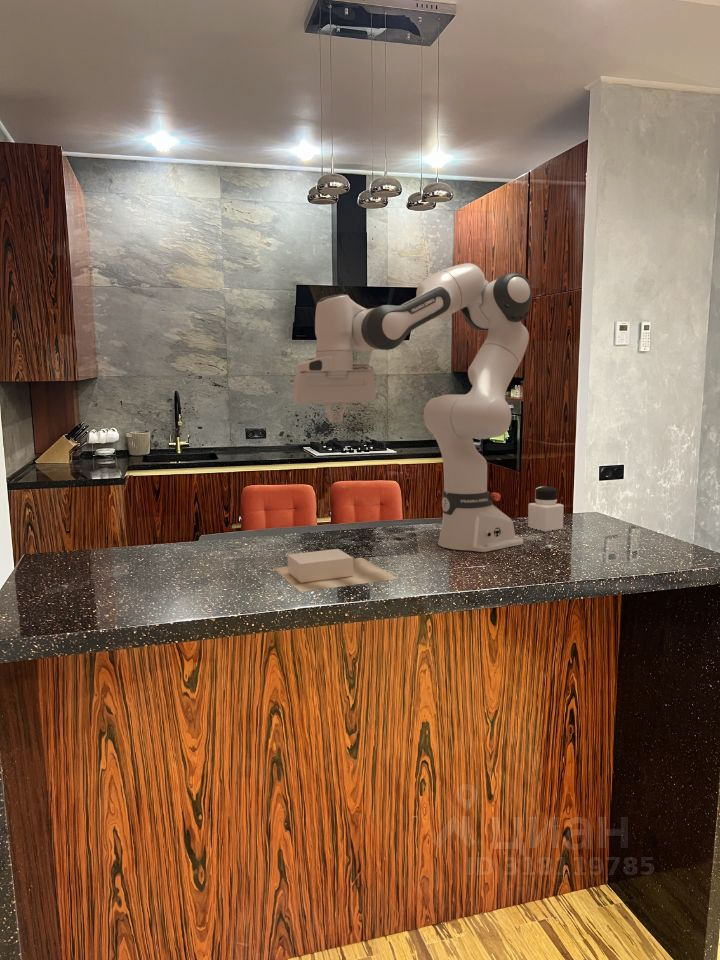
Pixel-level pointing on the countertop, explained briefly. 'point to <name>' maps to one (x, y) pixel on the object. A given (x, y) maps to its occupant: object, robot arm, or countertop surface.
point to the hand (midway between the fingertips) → (335, 422)
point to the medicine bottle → (545, 510)
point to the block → (320, 565)
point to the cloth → (361, 571)
